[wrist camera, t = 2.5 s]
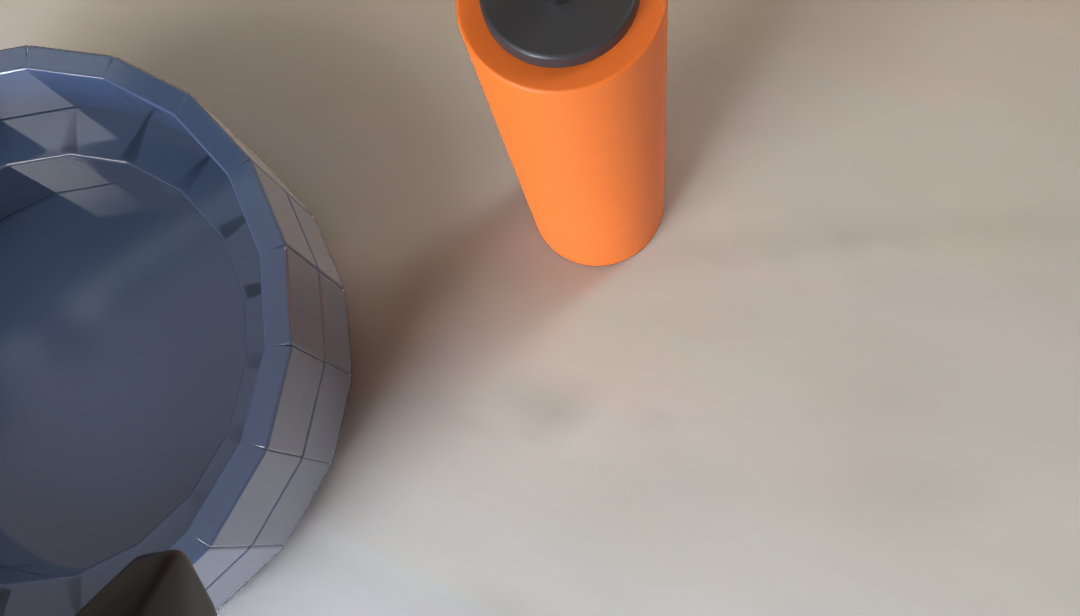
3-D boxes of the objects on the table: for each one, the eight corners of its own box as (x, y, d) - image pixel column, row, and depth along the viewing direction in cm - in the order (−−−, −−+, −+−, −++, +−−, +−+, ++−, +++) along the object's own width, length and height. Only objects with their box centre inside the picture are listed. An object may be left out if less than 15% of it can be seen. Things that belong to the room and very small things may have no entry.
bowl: (169, 767, 22) (47, 825, 18) (-241, 483, 25) (-434, 473, 20) (456, 264, 24) (410, 204, 19) (45, 53, 27) (-75, -41, 22)
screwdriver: (625, 288, 23) (585, -13, 10) (509, 231, 24) (337, -119, 11) (687, 175, 24) (721, -248, 11) (571, 121, 24) (475, -337, 11)
